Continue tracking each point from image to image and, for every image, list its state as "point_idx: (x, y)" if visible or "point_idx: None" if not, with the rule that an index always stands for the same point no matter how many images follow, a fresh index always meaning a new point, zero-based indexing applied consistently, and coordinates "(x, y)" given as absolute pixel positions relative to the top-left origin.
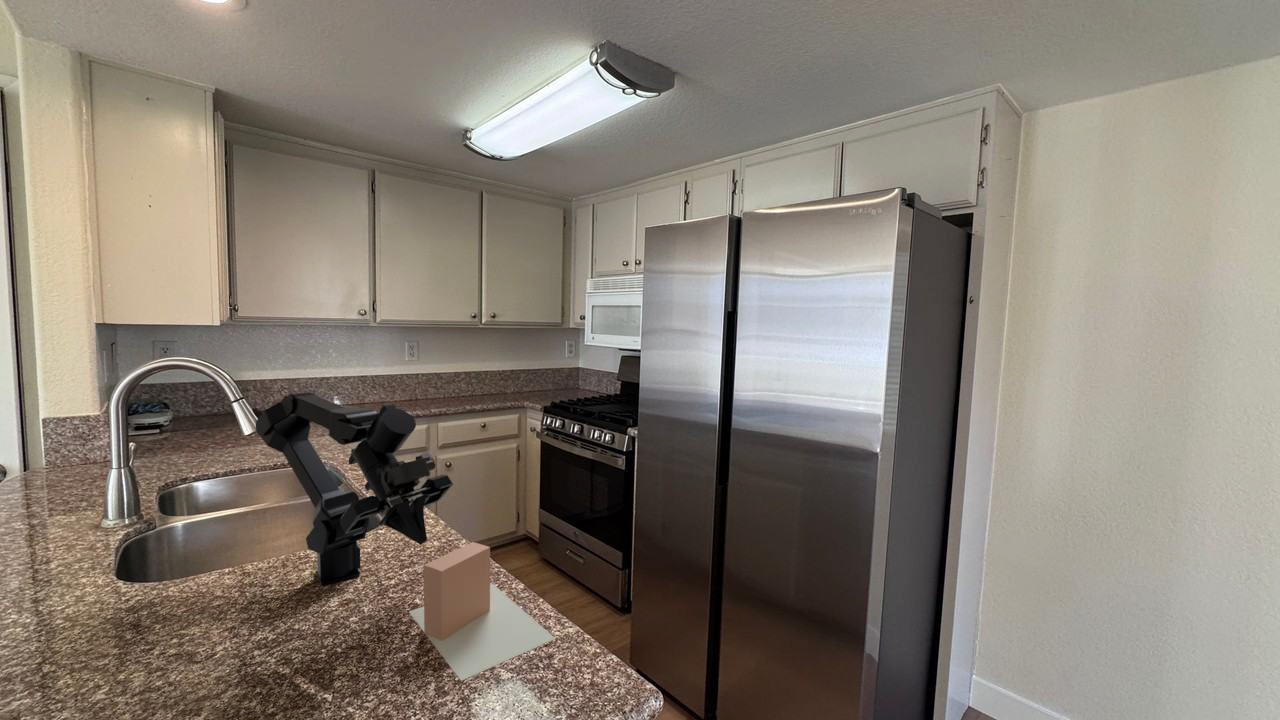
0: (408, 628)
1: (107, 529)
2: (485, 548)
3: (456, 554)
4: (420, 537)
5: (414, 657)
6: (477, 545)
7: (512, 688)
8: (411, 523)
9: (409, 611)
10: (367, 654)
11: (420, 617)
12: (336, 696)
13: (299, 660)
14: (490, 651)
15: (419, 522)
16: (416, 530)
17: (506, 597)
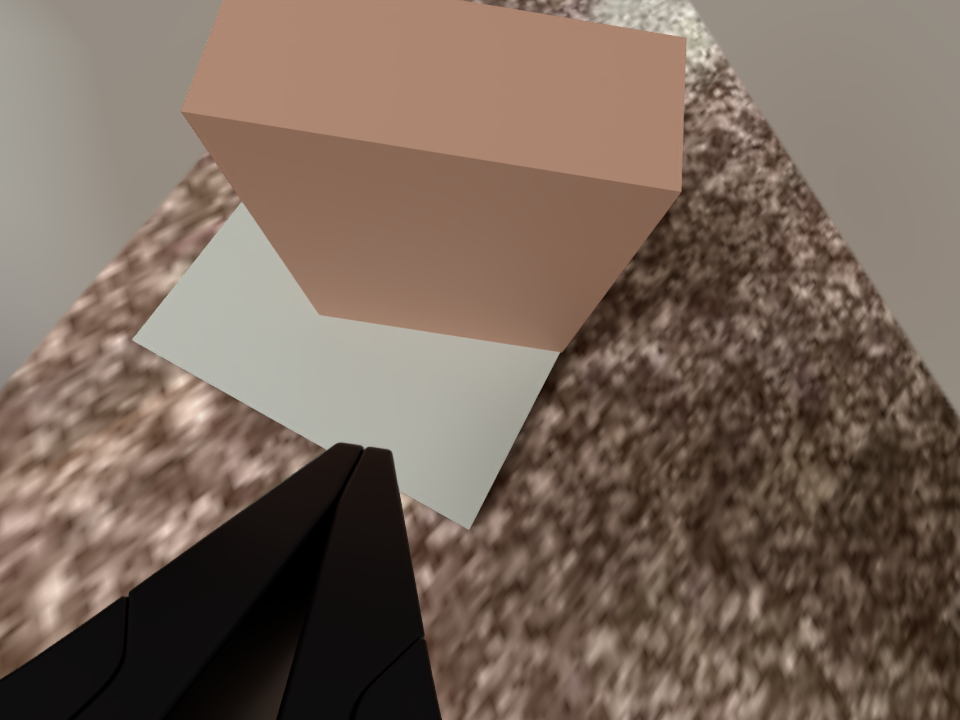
0: (539, 456)
1: None
2: None
3: (435, 95)
4: (395, 476)
5: (653, 311)
6: (236, 48)
7: (624, 13)
8: (397, 656)
9: (467, 526)
10: (719, 471)
11: (486, 444)
12: (887, 389)
13: (872, 691)
14: None
15: (243, 603)
16: (390, 540)
17: (232, 222)
